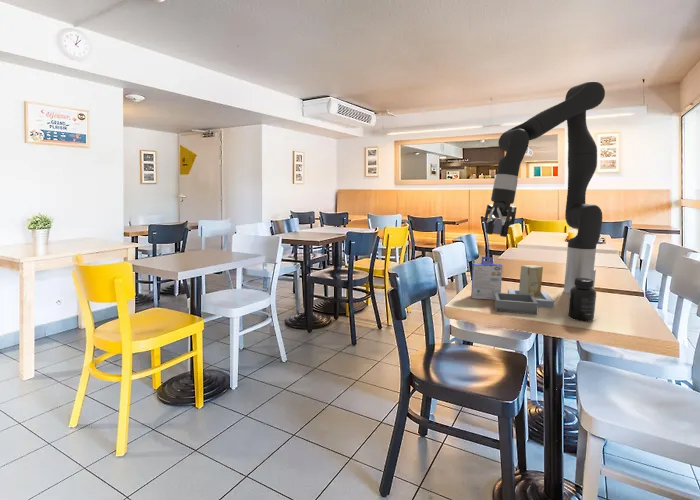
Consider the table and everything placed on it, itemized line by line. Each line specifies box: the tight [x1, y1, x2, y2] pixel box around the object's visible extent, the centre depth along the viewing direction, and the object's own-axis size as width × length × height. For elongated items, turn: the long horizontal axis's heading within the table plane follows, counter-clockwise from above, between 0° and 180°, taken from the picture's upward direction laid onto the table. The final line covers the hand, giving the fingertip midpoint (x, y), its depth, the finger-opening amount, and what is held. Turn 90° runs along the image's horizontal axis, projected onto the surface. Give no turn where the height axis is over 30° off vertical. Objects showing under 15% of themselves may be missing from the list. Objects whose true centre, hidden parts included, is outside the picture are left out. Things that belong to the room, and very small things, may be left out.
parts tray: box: [493, 292, 539, 315], centre depth 133 cm, size 12×11×4 cm
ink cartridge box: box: [470, 256, 503, 301], centre depth 145 cm, size 10×6×14 cm, turn 79°
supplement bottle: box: [567, 278, 597, 322], centre depth 122 cm, size 7×7×12 cm
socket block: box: [507, 288, 555, 308], centre depth 143 cm, size 13×14×2 cm
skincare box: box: [518, 264, 544, 299], centre depth 142 cm, size 6×4×12 cm
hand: (495, 235), depth 143 cm, fingers open, 8 cm apart
